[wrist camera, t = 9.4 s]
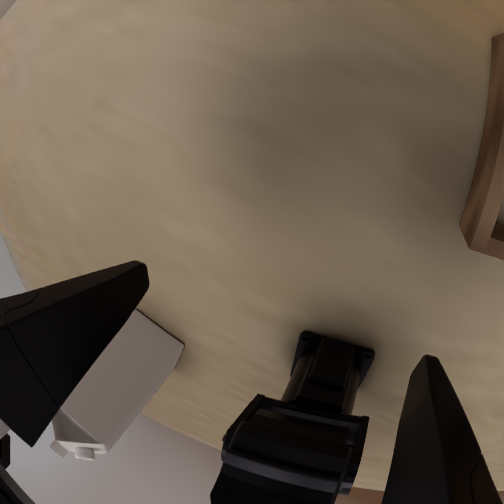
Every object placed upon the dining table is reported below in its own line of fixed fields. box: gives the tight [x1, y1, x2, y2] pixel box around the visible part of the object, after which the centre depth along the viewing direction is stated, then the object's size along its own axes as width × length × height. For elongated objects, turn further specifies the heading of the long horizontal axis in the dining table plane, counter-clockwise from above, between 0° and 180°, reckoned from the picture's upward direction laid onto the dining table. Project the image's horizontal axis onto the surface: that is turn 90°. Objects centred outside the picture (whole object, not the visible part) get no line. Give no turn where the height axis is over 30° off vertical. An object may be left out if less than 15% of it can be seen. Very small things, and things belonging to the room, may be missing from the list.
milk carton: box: [49, 310, 184, 460], centre depth 28 cm, size 7×7×19 cm
